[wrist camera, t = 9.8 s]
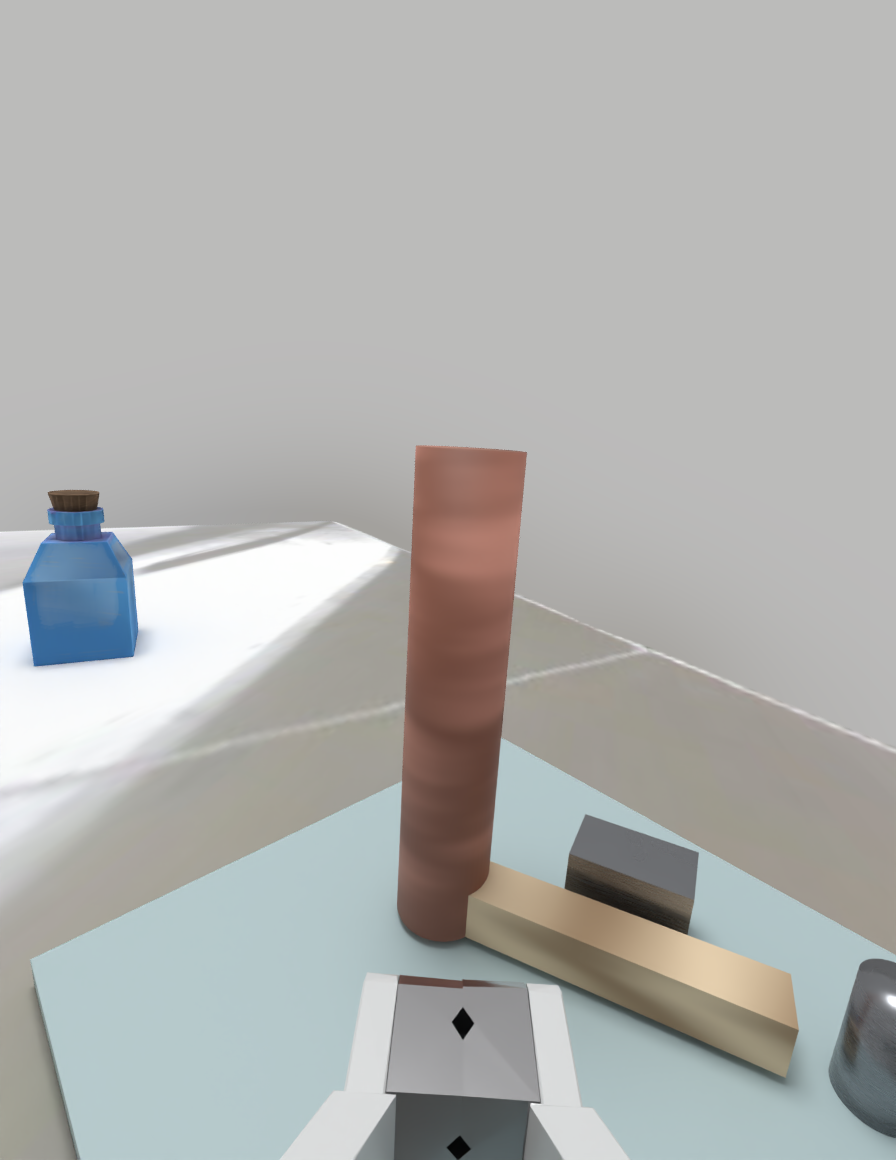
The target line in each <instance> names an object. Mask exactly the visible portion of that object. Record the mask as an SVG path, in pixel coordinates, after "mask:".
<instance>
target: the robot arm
mask: <svg viewBox="0 0 896 1160" xmlns="http://www.w3.org/2000/svg"><path fill="white" fill-rule="evenodd" d="M280 1160H630V1158H629V1157H628V1155H627V1154H626V1153H625V1151H624V1150H623V1148H622V1147H621V1146H620V1144H619V1143H618V1141H617V1140H616V1139H615V1137H614V1136H613V1134H612V1133H611V1132H610V1130H609V1129H608V1127H607V1126H606V1125H605V1123H604V1122H603V1120H602V1119H601V1118H600V1116H599V1115H598V1114H597V1112H596V1111H595V1109H594V1108H591V1107H583V1105H582V1100H581V1094H580V1089H579V1083H578V1078H577V1072H576V1067H575V1061H574V1056H573V1050H572V1045H571V1039H570V1034H569V1028H568V1023H567V1017H566V1012H565V1006H564V1001H563V996H562V991H561V990H560V988H559V986H558V985H545V984H530V983H526V984H525V983H524V982H506V981H486V980H465V979H462V981H460V980H449V979H439V978H428V977H418V976H408V975H400V976H399V975H394V974H382V973H369V972H367V974H366V977H365V980H364V983H363V987H362V993H361V998H360V1004H359V1009H358V1015H357V1021H356V1026H355V1032H354V1037H353V1043H352V1048H351V1054H350V1059H349V1065H348V1070H347V1076H346V1081H345V1087H344V1091H341V1090H333V1092H332V1093H331V1094H330V1095H329V1097H328V1098H327V1099H326V1101H325V1102H324V1103H323V1104H322V1106H321V1107H320V1108H319V1110H318V1111H317V1112H316V1113H315V1115H314V1116H313V1117H312V1119H311V1120H310V1121H309V1122H308V1124H307V1125H306V1126H305V1128H304V1129H303V1130H302V1131H301V1133H300V1134H299V1135H298V1137H297V1138H296V1139H295V1140H294V1142H293V1143H292V1144H291V1146H290V1147H289V1148H288V1149H287V1151H286V1152H285V1153H284V1155H283V1156H282V1157H281V1158H280Z"/></svg>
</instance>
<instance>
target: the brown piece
mask: <svg viewBox="0 0 896 1160" xmlns="http://www.w3.org/2000/svg"><path fill="white" fill-rule="evenodd" d="M526 456H527V452H521V451H511V450H499V449H484V448H468V447H448V446H416V458H415V481H414V507H413V530H412V553H411V577H410V601H409V626H408V650H407V674H406V698H405V722H404V746H403V771H402V795H401V819H400V843H399V867H398V891H397V909H398V913H399V916H400V918H401V920H402V922H403V923H404V924H405V925H406V927H407V928H408V929H409V930H411V931H412V932H413V933H415V934H416V935H418V936H420V937H422V938H425V939H428V940H432V941H438V942H448V941H455V940H459V939H461V938H464V937H467V938H469V939H471V940H473V941H476V942H478V943H480V944H483V945H485V946H487V947H489V948H492V949H494V950H496V951H498V952H501V953H503V954H505V955H507V956H510V957H512V958H514V959H517V960H519V961H521V962H523V963H526V964H528V965H530V966H532V967H535V968H537V969H539V970H542V971H544V972H546V973H548V974H551V975H553V976H555V977H557V978H560V979H562V980H564V981H567V982H569V983H571V984H573V985H576V986H578V987H580V988H582V989H585V990H587V991H589V992H592V993H594V994H596V995H598V996H601V997H603V998H605V999H607V1000H610V1001H612V1002H614V1003H617V1004H619V1005H621V1006H623V1007H626V1008H628V1009H630V1010H632V1011H635V1012H637V1013H639V1014H641V1015H644V1016H646V1017H648V1018H651V1019H653V1020H655V1021H657V1022H660V1023H662V1024H664V1025H666V1026H669V1027H671V1028H673V1029H676V1030H678V1031H680V1032H682V1033H685V1034H687V1035H689V1036H691V1037H694V1038H696V1039H698V1040H701V1041H703V1042H705V1043H707V1044H710V1045H712V1046H714V1047H716V1048H719V1049H721V1050H723V1051H726V1052H728V1053H730V1054H732V1055H735V1056H737V1057H739V1058H741V1059H744V1060H746V1061H748V1062H750V1063H753V1064H755V1065H757V1066H760V1067H762V1068H764V1069H766V1070H769V1071H771V1072H773V1073H775V1074H778V1075H780V1076H782V1077H785V1078H786V1075H787V1071H788V1067H789V1064H790V1060H791V1057H792V1053H793V1050H794V1046H795V1042H796V1039H797V1035H798V1032H799V1027H798V1020H797V1013H796V1006H795V999H794V992H793V985H792V978H791V974H790V973H787V972H784V971H782V970H779V969H776V968H774V967H771V966H768V965H766V964H763V963H760V962H758V961H755V960H752V959H750V958H747V957H744V956H742V955H739V954H736V953H734V952H731V951H728V950H726V949H723V948H720V947H718V946H715V945H712V944H710V943H707V942H704V941H702V940H699V939H696V938H694V937H691V936H688V935H686V934H683V933H680V932H678V931H675V930H672V929H670V928H667V927H664V926H662V925H659V924H656V923H654V922H651V921H649V920H646V919H643V918H641V917H638V916H635V915H633V914H630V913H627V912H625V911H622V910H619V909H617V908H614V907H611V906H609V905H606V904H603V903H601V902H598V901H595V900H593V899H590V898H587V897H585V896H582V895H579V894H577V893H574V892H571V891H569V890H566V889H563V888H561V887H558V886H555V885H553V884H550V883H547V882H545V881H542V880H539V879H537V878H534V877H531V876H529V875H526V874H523V873H521V872H518V871H515V870H513V869H510V868H507V867H505V866H502V865H499V864H497V863H494V862H491V861H490V856H491V844H492V833H493V822H494V811H495V800H496V789H497V778H498V767H499V756H500V745H501V733H502V722H503V711H504V700H505V689H506V678H507V667H508V656H509V645H510V634H511V622H512V611H513V600H514V588H515V577H516V567H517V556H518V543H519V533H520V522H521V511H522V499H523V489H524V477H525V467H526Z"/></svg>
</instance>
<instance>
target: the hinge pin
mask: <svg viewBox="0 0 896 1160" xmlns="http://www.w3.org/2000/svg"><path fill="white" fill-rule="evenodd" d="M828 1073H829V1078H830V1082H831V1084H832V1087H833V1089H834V1091H835V1092H836V1094H837V1096H838V1097H839V1099H840V1100H841V1101H842V1103H843V1104H844V1105H845V1106H846V1107H847V1108H848V1109H849V1111H850V1112H851V1113H852V1114H854V1115H855V1116H856V1117H857V1118H858V1119H859V1120H860V1121H862V1122H863V1123H864V1124H866V1125H867V1126H869V1127H870V1128H872V1129H874V1130H875V1131H877V1132H879V1133H881V1134H884V1135H886V1136H889V1137H893V1138H896V963H895V962H892V961H889V960H885V959H874V958H873V959H868V960H865V961H863V962H862V963H861V964H860V966H859V969H858V972H857V975H856V979H855V982H854V985H853V988H852V992H851V995H850V998H849V1002H848V1005H847V1008H846V1011H845V1015H844V1018H843V1021H842V1025H841V1028H840V1031H839V1034H838V1038H837V1041H836V1044H835V1048H834V1051H833V1054H832V1057H831V1061H830V1064H829V1069H828Z"/></svg>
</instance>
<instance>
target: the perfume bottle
mask: <svg viewBox="0 0 896 1160" xmlns="http://www.w3.org/2000/svg"><path fill="white" fill-rule="evenodd" d="M48 495H49V498H50V500H51V503H52V506H53V508H50V509H48V510H47V511H48V519H49V523H50V524H52V525H54V528H55V533H51V534H50V535H49V536H48V537H47V538H46V539H45V540H44V541H43V542H42V543H41V544H40V547H39V549H38V551H37V553H36V555H35V557H34V559H33V562H32V564H31V566H30V568H29V570H28V572H27V574H26V577H25V579H24V581H23V589H24V596H25V604H26V611H27V618H28V625H29V632H30V640H31V647H32V654H33V661H34V666H44V665H54V664H64V663H74V662H84V661H94V660H104V659H114V658H124V657H133V656H134V650H135V645H136V639H137V633H138V622H137V610H136V599H135V587H134V576H133V564H132V558H131V557H130V555H129V554H128V553H127V551H126V550H125V549H124V547H123V546H122V544H121V543H120V542H119V540H118V539H117V538H116V536H115V535H114V533H113V532H101V528H100V523H103V522H104V513H103V508H100V507H97V505H98V498H99V492H97V491H89V490H60V491H51V492H48Z"/></svg>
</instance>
